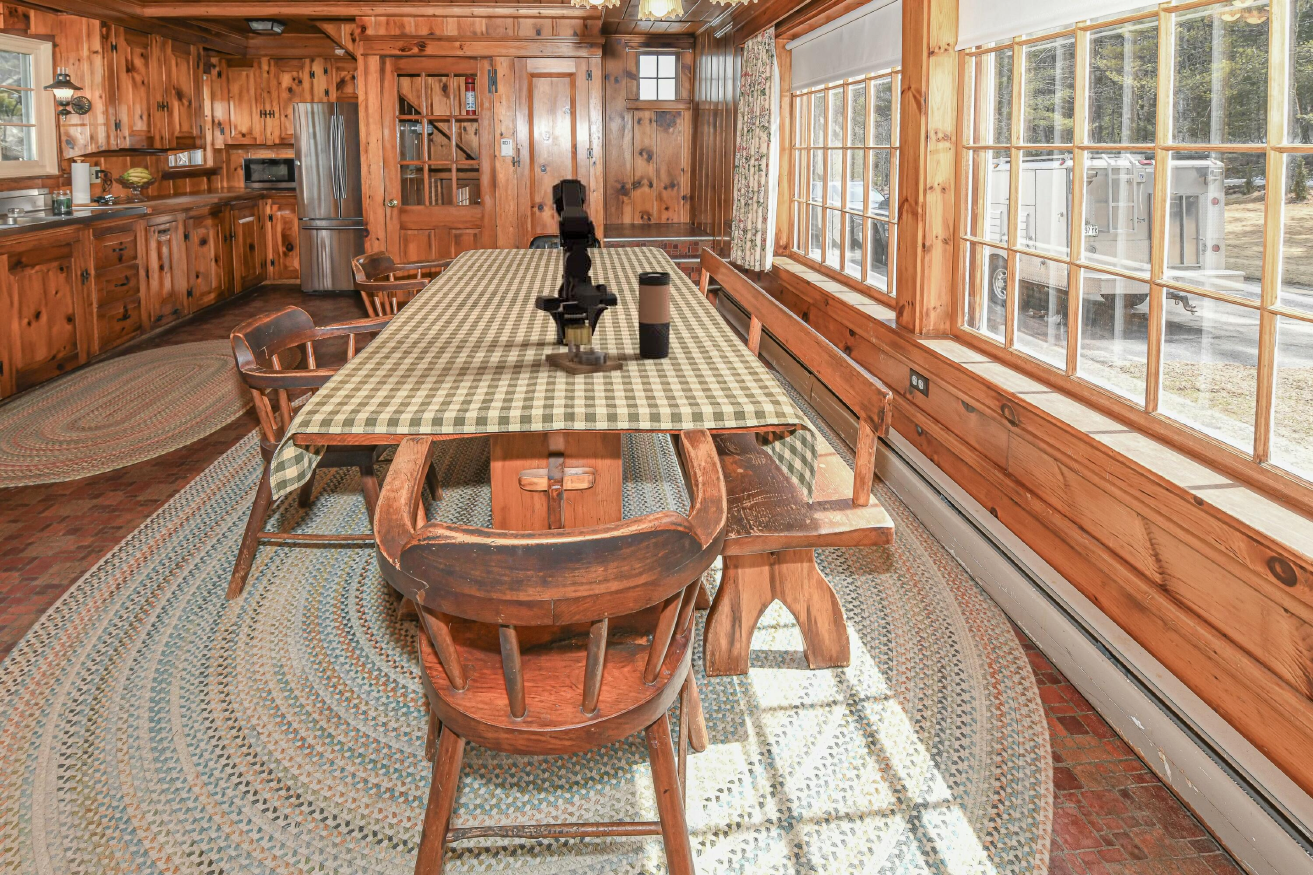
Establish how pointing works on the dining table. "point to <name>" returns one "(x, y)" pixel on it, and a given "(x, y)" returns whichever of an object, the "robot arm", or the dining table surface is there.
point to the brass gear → (578, 334)
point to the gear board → (583, 360)
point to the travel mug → (654, 314)
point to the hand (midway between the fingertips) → (577, 337)
